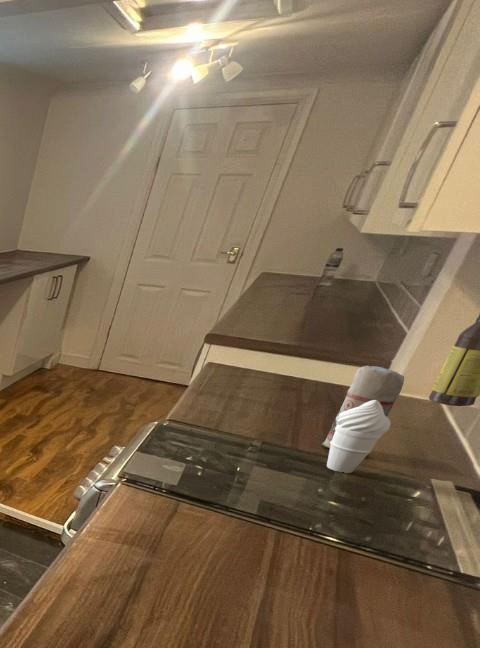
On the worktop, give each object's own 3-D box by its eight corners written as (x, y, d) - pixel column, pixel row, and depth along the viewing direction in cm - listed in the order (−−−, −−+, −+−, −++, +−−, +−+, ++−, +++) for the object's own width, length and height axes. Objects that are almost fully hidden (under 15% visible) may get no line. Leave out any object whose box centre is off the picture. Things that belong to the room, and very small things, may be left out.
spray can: (317, 440, 143) (355, 361, 134) (361, 447, 139) (403, 366, 131) (325, 452, 137) (366, 369, 128) (372, 459, 133) (417, 375, 124)
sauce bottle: (480, 406, 111) (543, 300, 102) (458, 409, 110) (520, 301, 101) (438, 396, 117) (494, 294, 108) (416, 398, 115) (471, 295, 106)
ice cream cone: (347, 479, 123) (384, 408, 116) (304, 463, 130) (337, 395, 123) (374, 475, 125) (411, 404, 118) (330, 459, 132) (363, 392, 125)
